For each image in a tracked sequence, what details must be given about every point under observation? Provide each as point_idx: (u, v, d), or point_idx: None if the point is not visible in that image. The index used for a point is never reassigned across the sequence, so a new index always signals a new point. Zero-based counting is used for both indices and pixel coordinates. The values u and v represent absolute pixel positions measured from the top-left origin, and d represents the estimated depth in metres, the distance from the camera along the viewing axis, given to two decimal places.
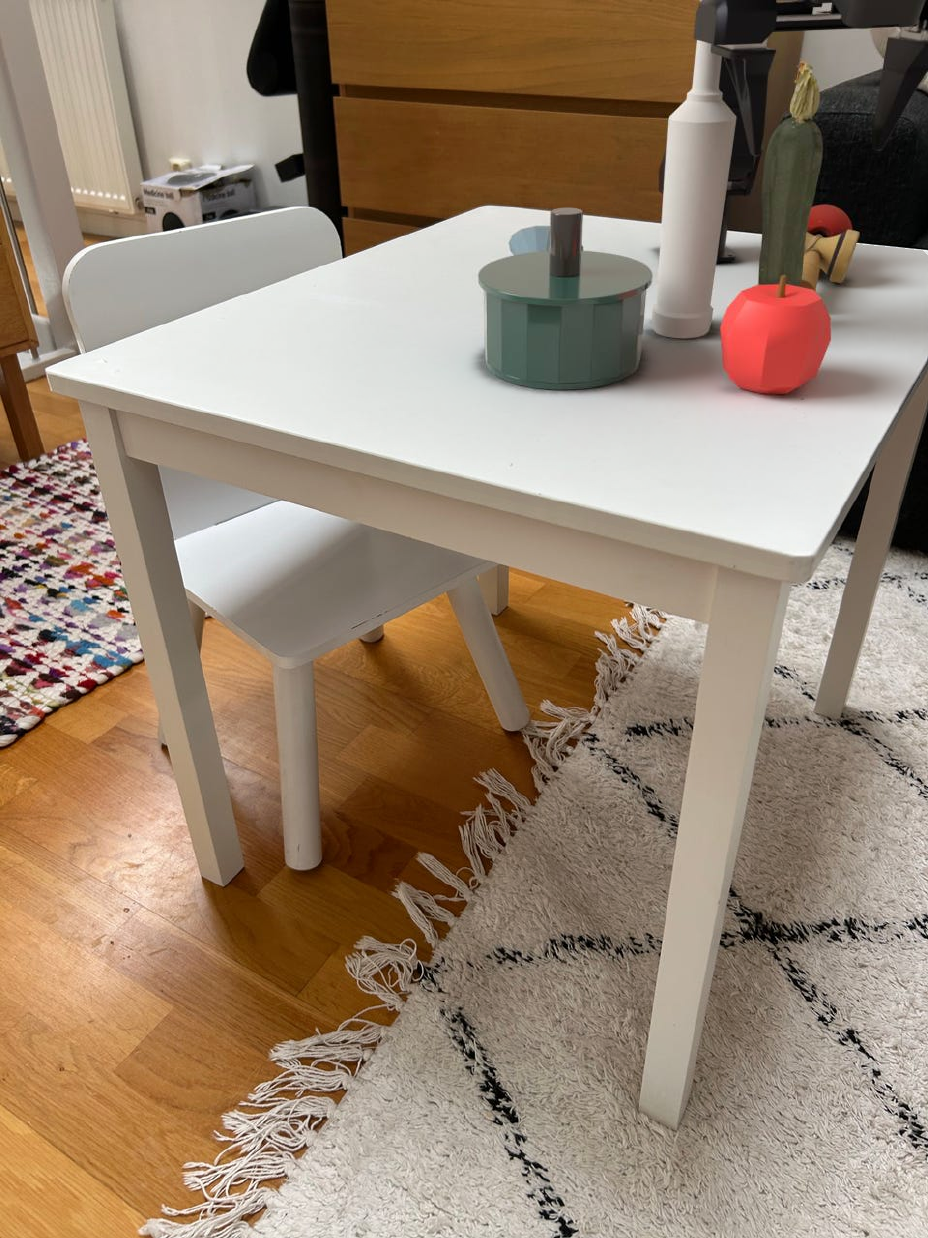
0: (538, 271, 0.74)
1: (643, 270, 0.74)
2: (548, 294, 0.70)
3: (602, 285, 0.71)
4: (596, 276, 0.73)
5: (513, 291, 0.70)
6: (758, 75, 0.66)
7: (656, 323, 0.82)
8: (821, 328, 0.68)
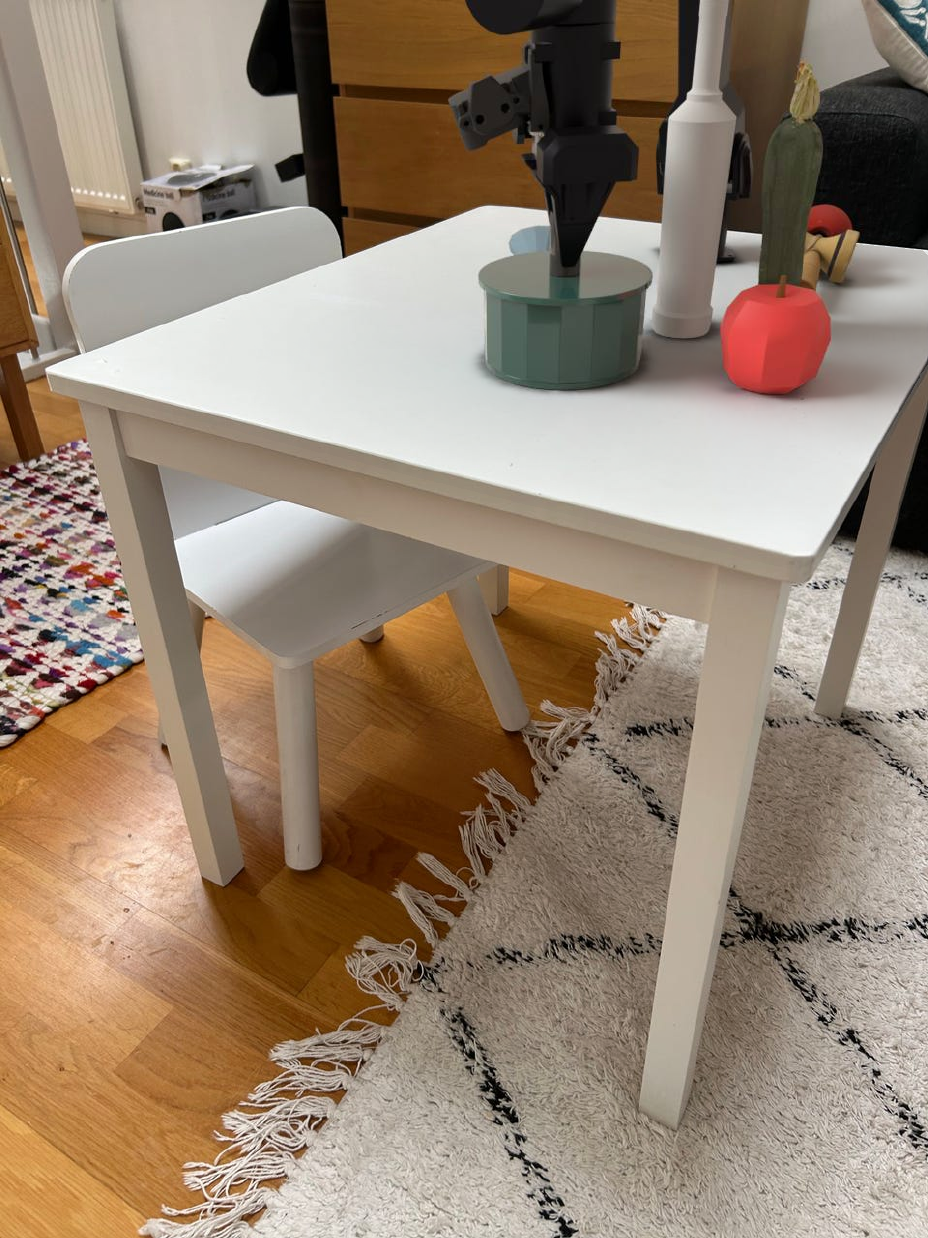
0: (538, 271, 0.74)
1: (643, 270, 0.74)
2: (548, 294, 0.70)
3: (602, 285, 0.71)
4: (596, 276, 0.73)
5: (513, 291, 0.70)
6: None
7: (656, 323, 0.82)
8: (821, 328, 0.68)
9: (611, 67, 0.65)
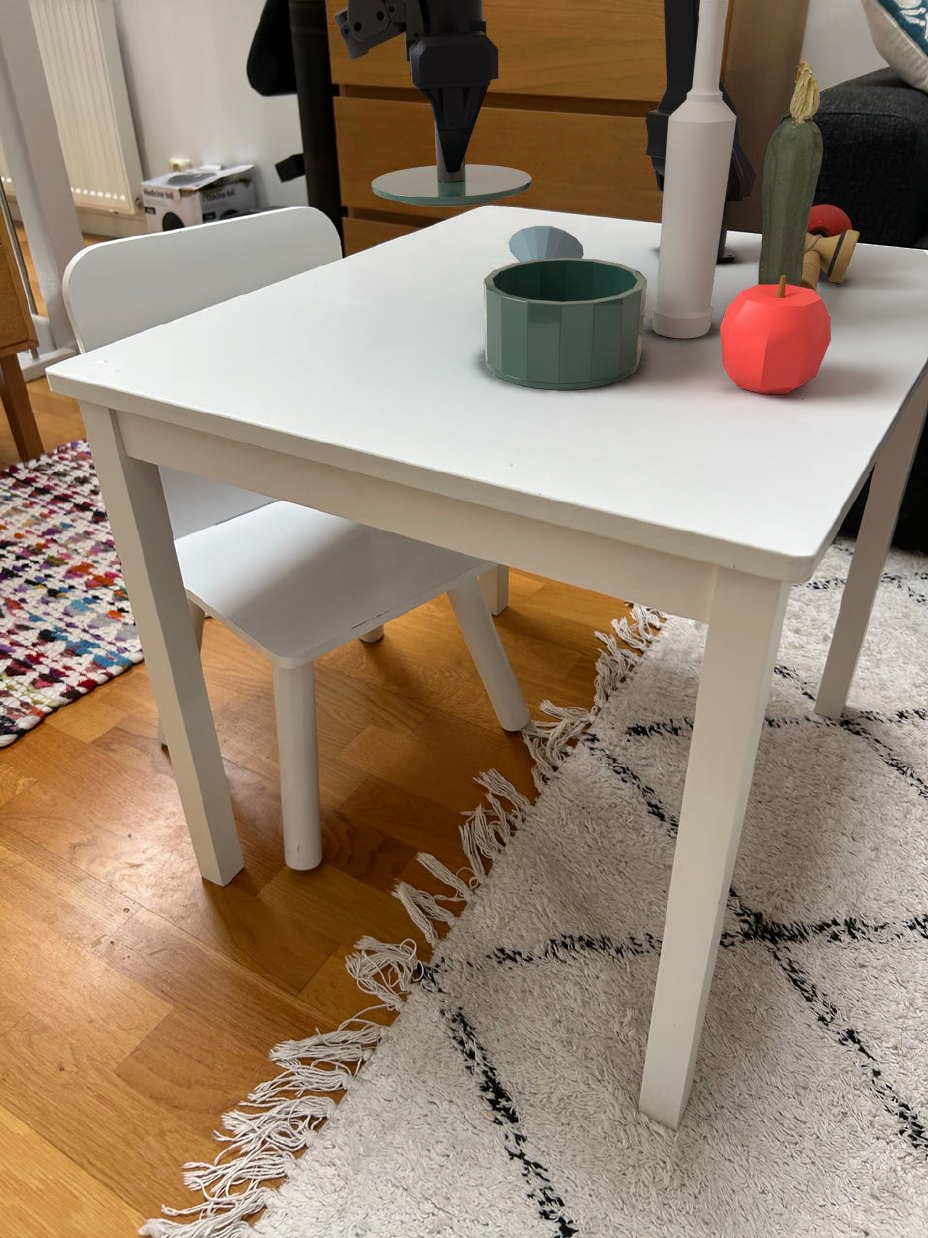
0: (427, 179, 0.81)
1: (524, 176, 0.80)
2: (430, 194, 0.76)
3: (482, 187, 0.77)
4: (479, 181, 0.79)
5: (399, 192, 0.77)
6: None
7: (656, 323, 0.82)
8: (821, 328, 0.68)
9: None
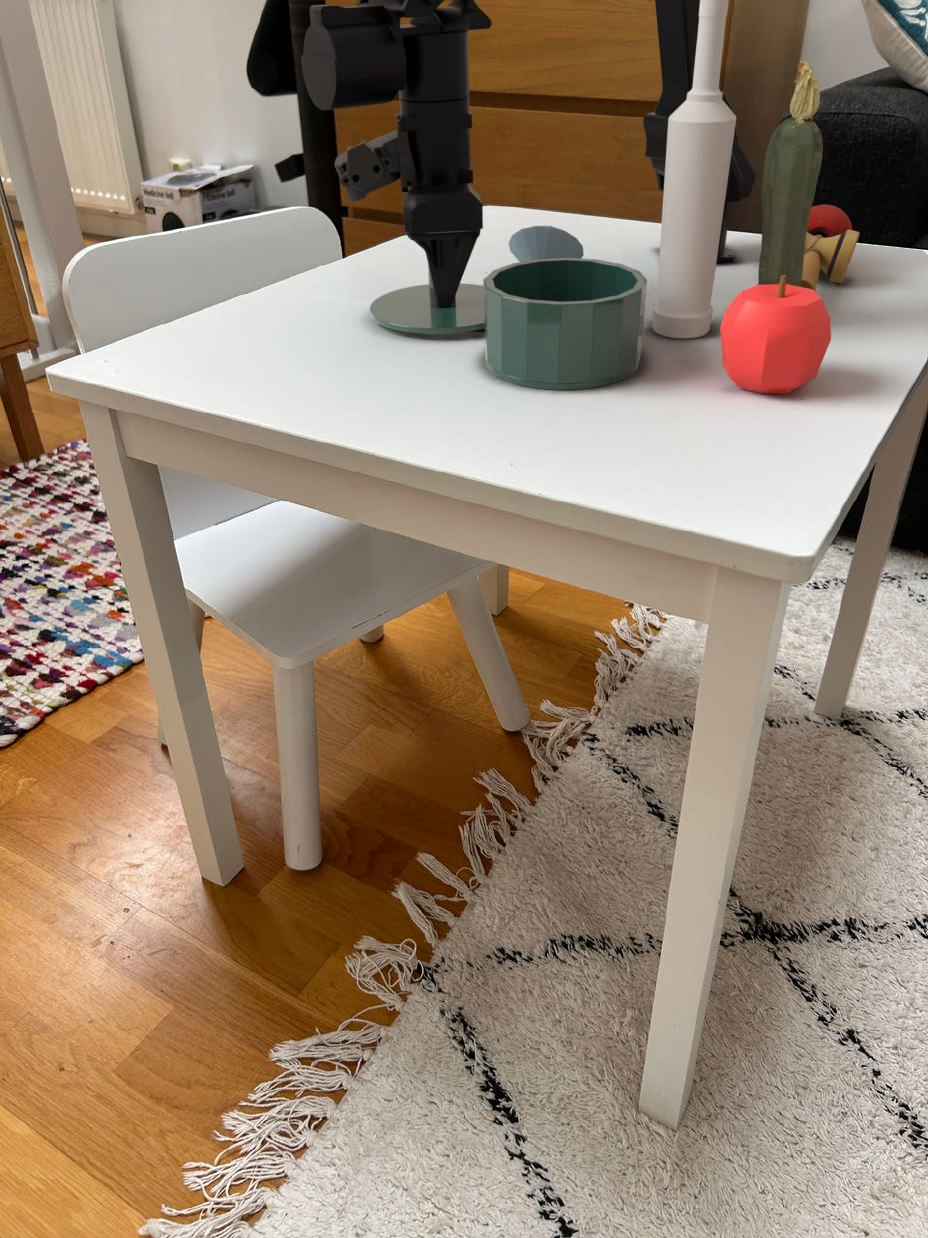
0: (421, 302, 0.88)
1: None
2: (422, 324, 0.83)
3: (470, 315, 0.85)
4: (468, 307, 0.87)
5: (394, 321, 0.84)
6: None
7: (656, 323, 0.82)
8: (821, 328, 0.68)
9: (467, 134, 0.79)
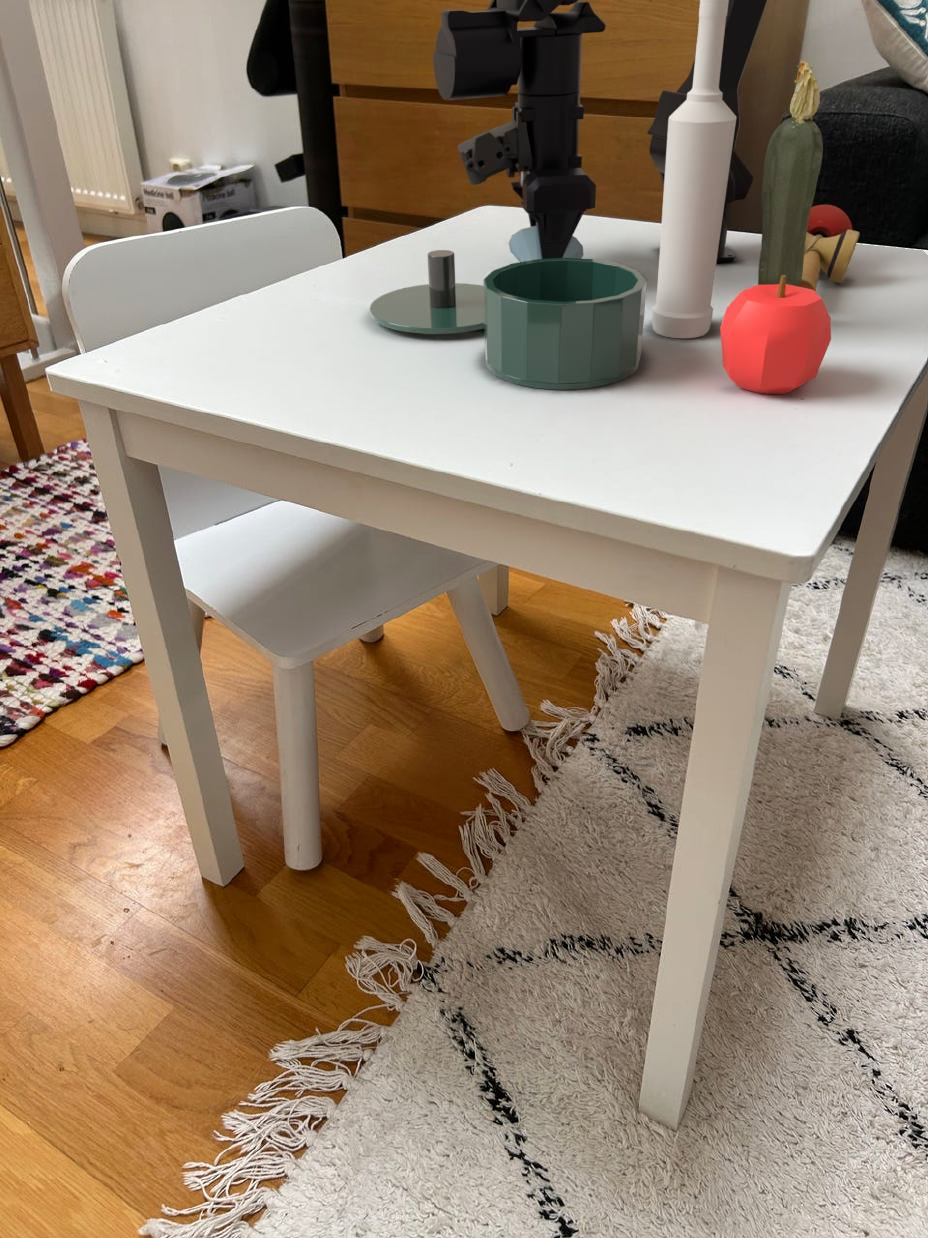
0: (421, 302, 0.88)
1: None
2: (422, 324, 0.83)
3: (470, 315, 0.85)
4: (468, 307, 0.87)
5: (394, 321, 0.84)
6: None
7: (656, 323, 0.82)
8: (821, 328, 0.68)
9: (577, 124, 0.89)
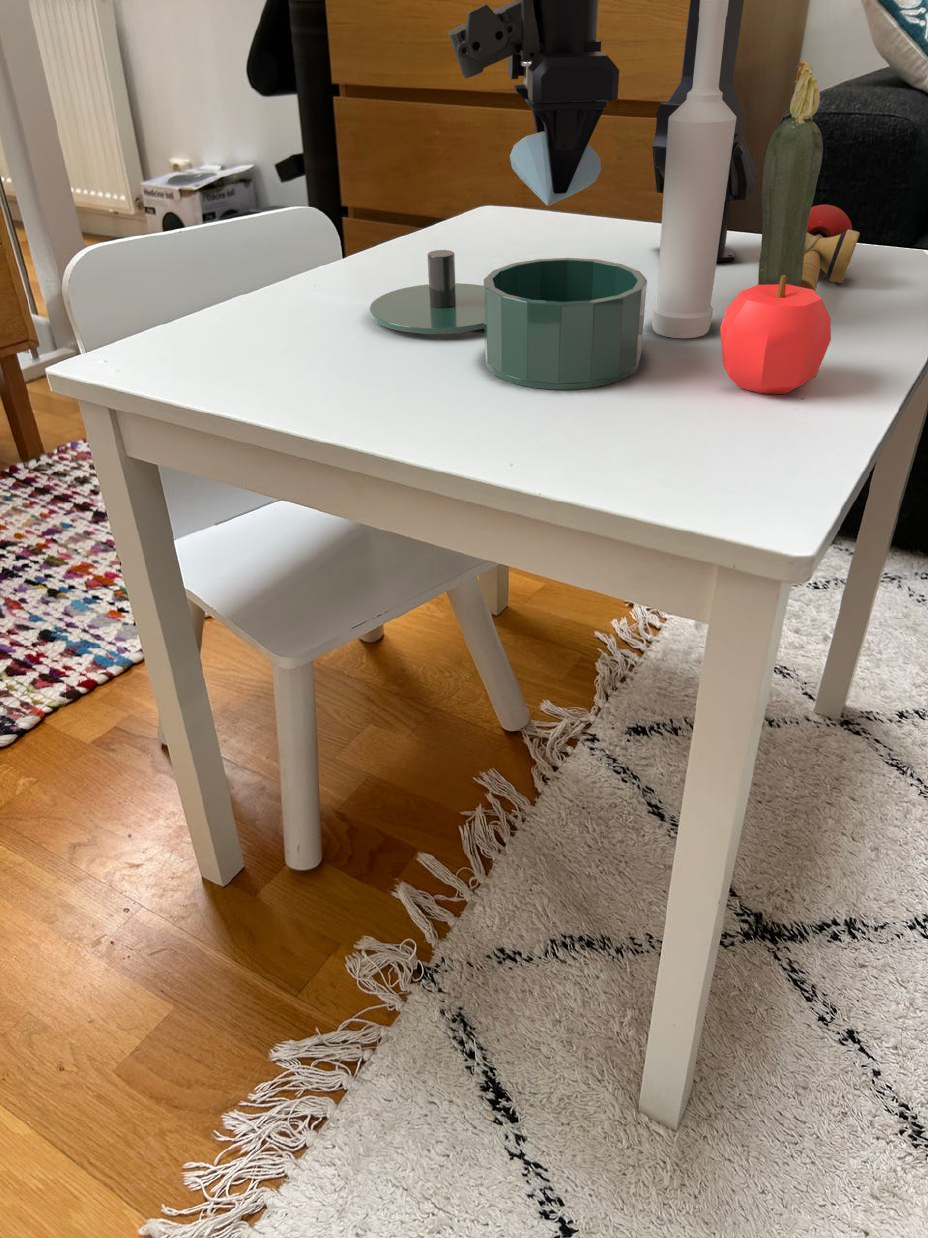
0: (421, 302, 0.88)
1: None
2: (422, 324, 0.83)
3: (470, 315, 0.85)
4: (468, 307, 0.87)
5: (394, 321, 0.84)
6: None
7: (656, 323, 0.82)
8: (821, 328, 0.68)
9: (596, 1, 0.72)
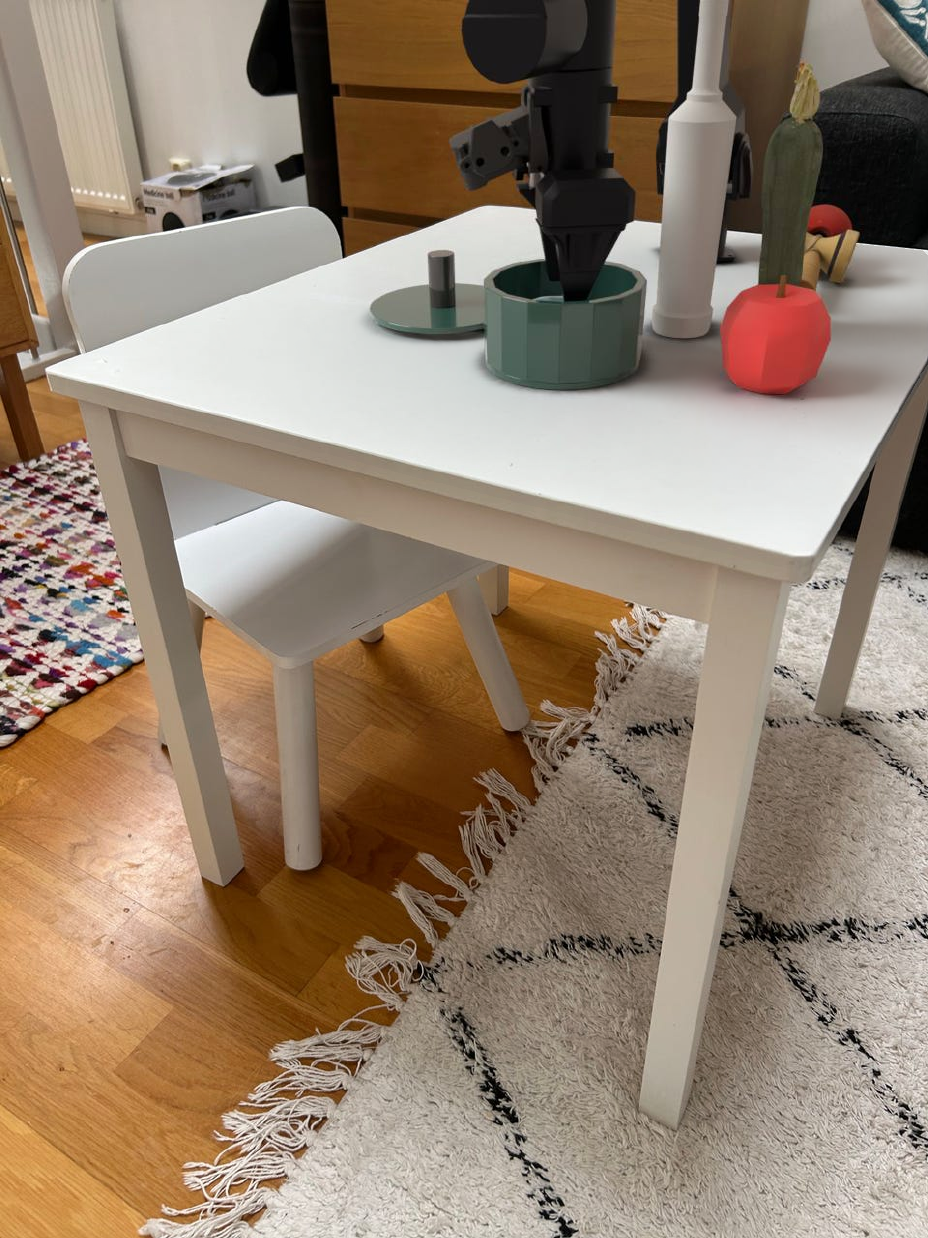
0: (421, 302, 0.88)
1: None
2: (422, 324, 0.83)
3: (470, 315, 0.85)
4: (468, 307, 0.87)
5: (394, 321, 0.84)
6: None
7: (656, 323, 0.82)
8: (821, 328, 0.68)
9: (608, 110, 0.67)
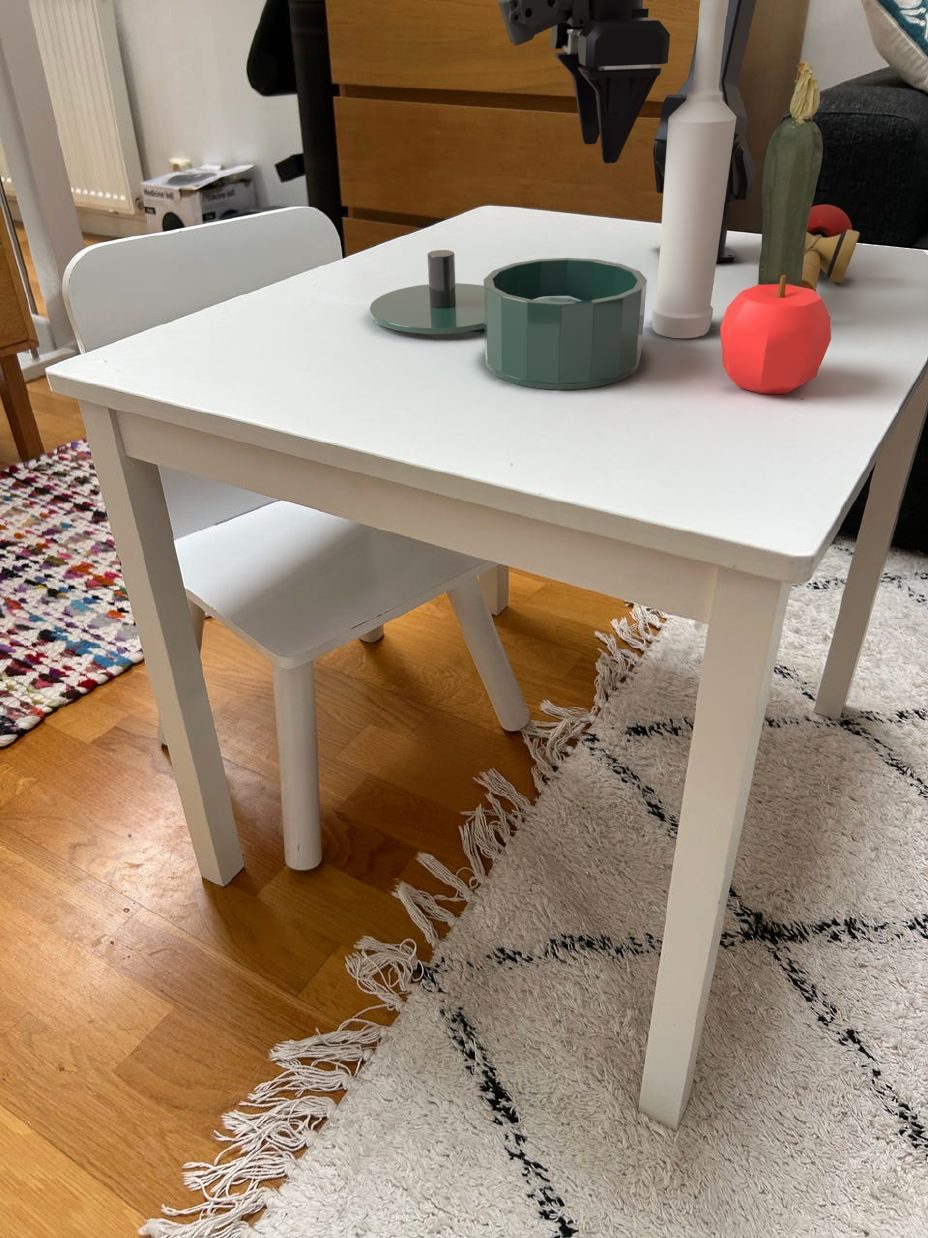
0: (421, 302, 0.88)
1: None
2: (422, 324, 0.83)
3: (470, 315, 0.85)
4: (468, 307, 0.87)
5: (394, 321, 0.84)
6: (572, 75, 0.84)
7: (656, 323, 0.82)
8: (821, 328, 0.68)
9: None
